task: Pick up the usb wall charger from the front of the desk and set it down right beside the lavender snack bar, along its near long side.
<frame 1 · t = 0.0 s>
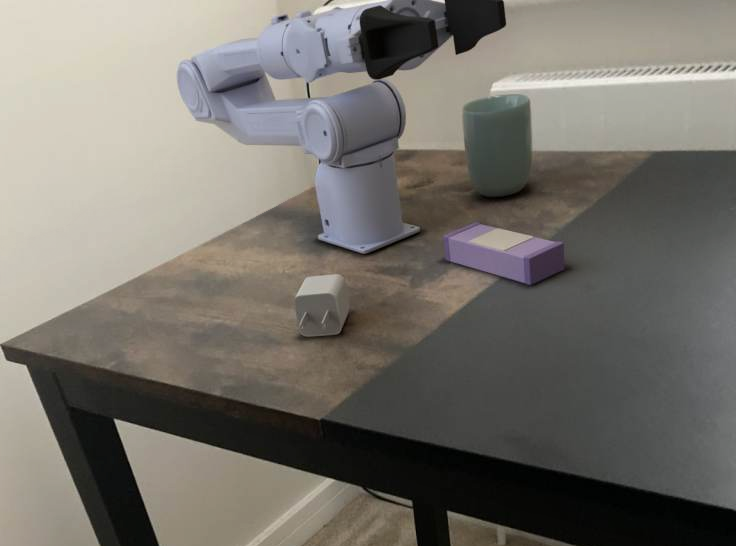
hand: (468, 23, 75), 22 cm above the table, tool horizontal, fingers open, 7 cm apart
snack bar: (502, 264, 88), on the table
usb wall charger: (323, 333, 82), on the table
cup: (501, 193, 107), on the table
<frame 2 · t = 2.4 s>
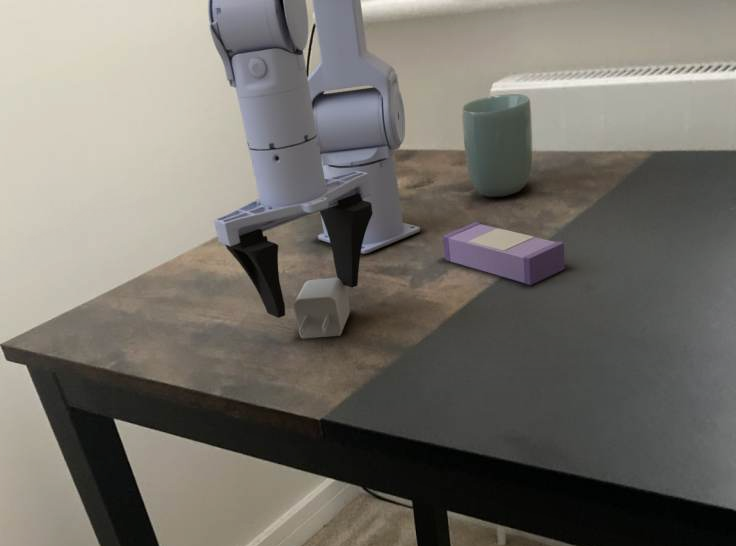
hand: (313, 299, 80), 3 cm above the table, tool pointing down, fingers open, 7 cm apart
usb wall charger: (323, 336, 82), on the table, touching gripper
everything else where it was.
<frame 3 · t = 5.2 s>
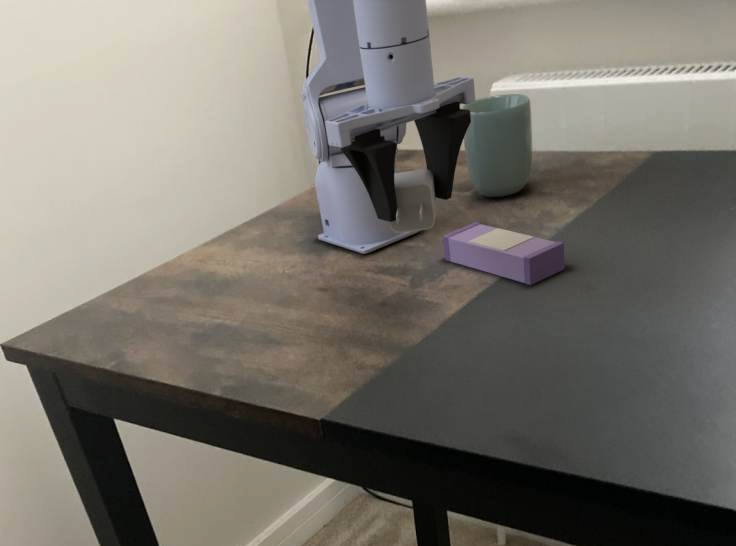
hand: (414, 208, 80), 8 cm above the table, tool pointing down, fingers closed on usb wall charger, 6 cm apart
usb wall charger: (414, 230, 80), point 7 cm above the table, touching gripper
everything else where it was.
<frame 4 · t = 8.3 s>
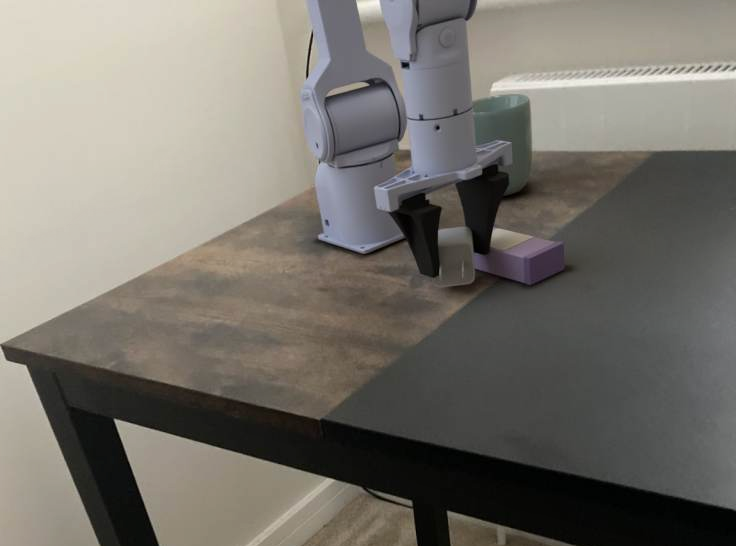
hand: (454, 263, 85), 2 cm above the table, tool pointing down, fingers closed on usb wall charger, 6 cm apart
usb wall charger: (454, 284, 85), point 1 cm above the table, touching gripper
everything else where it was.
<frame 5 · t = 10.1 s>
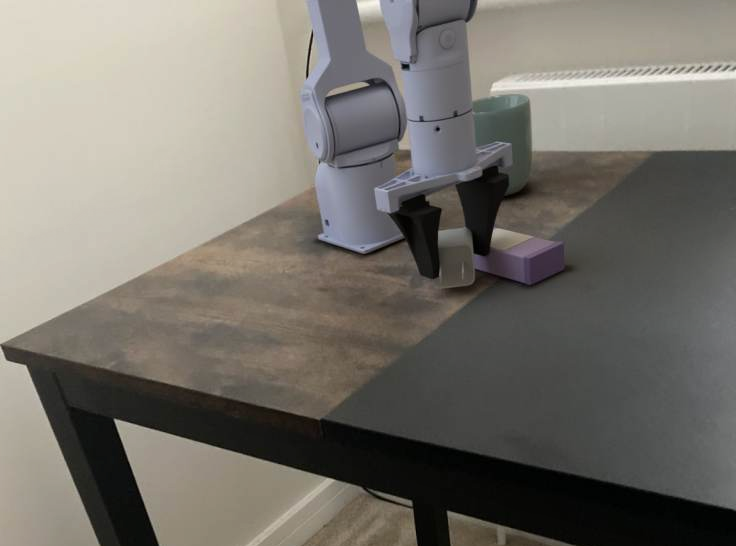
hand: (454, 264, 85), 2 cm above the table, tool pointing down, fingers closed on usb wall charger, 6 cm apart
usb wall charger: (454, 285, 85), on the table, touching gripper
everything else where it was.
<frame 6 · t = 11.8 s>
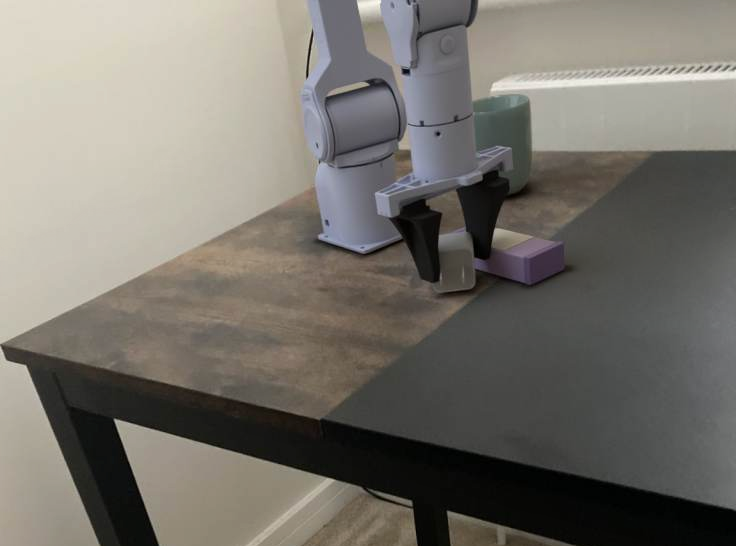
hand: (455, 268, 85), 2 cm above the table, tool pointing down, fingers closed on usb wall charger, 6 cm apart
usb wall charger: (454, 289, 85), on the table, touching gripper
everything else where it was.
when the fingers open (3 cm above the table, at t = 15.0 s): usb wall charger drops 1 cm, on the table.
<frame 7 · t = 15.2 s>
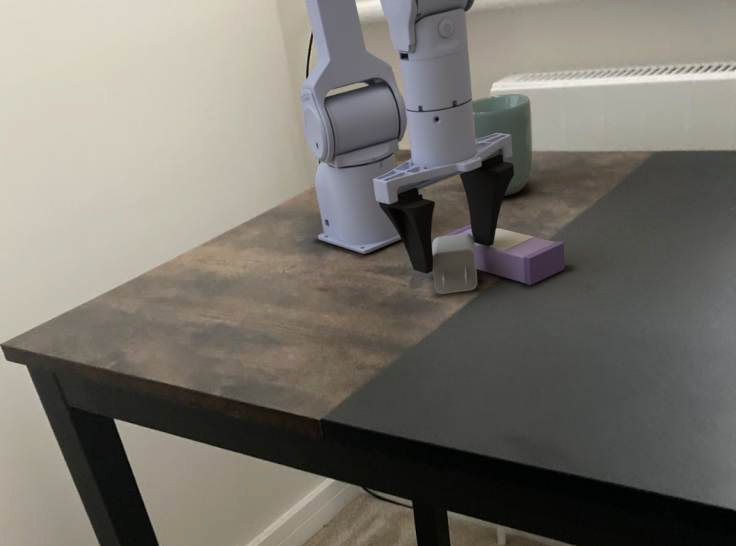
hand: (454, 256, 84), 3 cm above the table, tool pointing down, fingers open, 7 cm apart
usb wall charger: (456, 290, 85), on the table
everything else where it was.
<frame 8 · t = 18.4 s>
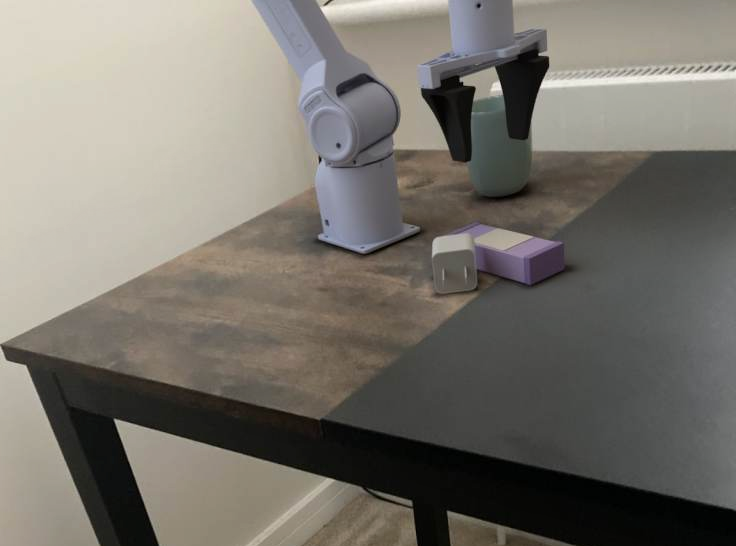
hand: (490, 149, 88), 9 cm above the table, tool pointing down, fingers open, 7 cm apart
nothing on the table moved.
at the end: usb wall charger 6.5 cm from the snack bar (horizontally); usb wall charger on the table; usb wall charger moved 13.8 cm from its start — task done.
